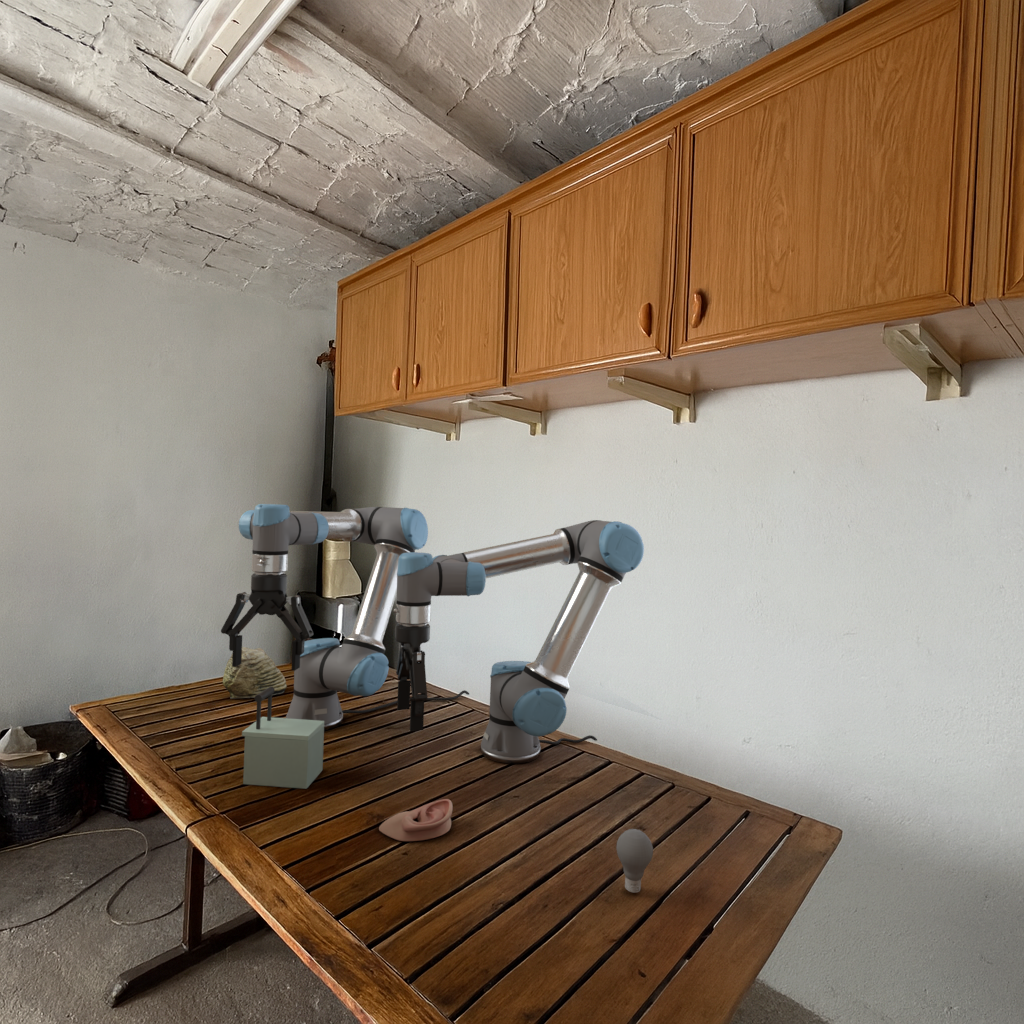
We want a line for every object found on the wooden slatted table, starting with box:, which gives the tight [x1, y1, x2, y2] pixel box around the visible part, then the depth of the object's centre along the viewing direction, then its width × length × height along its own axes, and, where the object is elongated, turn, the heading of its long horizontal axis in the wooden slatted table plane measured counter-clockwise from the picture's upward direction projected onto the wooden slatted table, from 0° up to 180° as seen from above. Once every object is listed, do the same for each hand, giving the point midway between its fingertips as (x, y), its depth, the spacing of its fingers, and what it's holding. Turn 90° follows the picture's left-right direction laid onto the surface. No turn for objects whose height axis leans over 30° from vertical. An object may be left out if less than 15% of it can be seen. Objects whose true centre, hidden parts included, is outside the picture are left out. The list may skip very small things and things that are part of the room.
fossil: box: [222, 646, 288, 699], centre depth 198 cm, size 9×18×15 cm, turn 132°
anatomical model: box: [378, 798, 454, 842], centre depth 123 cm, size 13×4×12 cm
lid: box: [241, 687, 324, 741], centre depth 142 cm, size 15×10×9 cm, turn 86°
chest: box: [242, 726, 325, 789], centre depth 142 cm, size 14×10×10 cm
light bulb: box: [615, 828, 654, 894], centre depth 106 cm, size 6×6×10 cm
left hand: (266, 667), depth 142 cm, fingers open, 13 cm apart
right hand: (409, 719), depth 139 cm, fingers open, 13 cm apart
